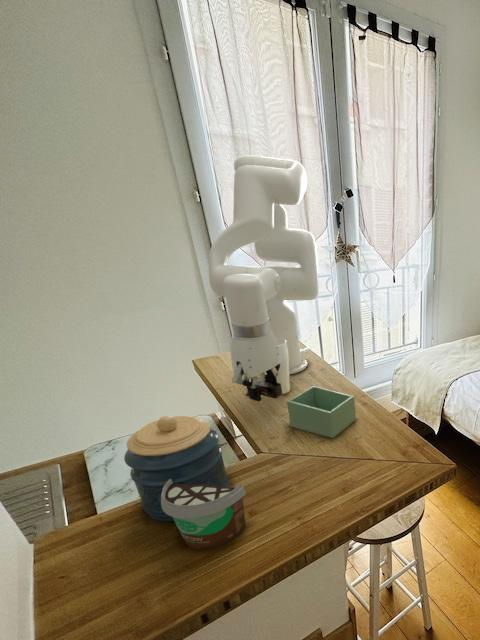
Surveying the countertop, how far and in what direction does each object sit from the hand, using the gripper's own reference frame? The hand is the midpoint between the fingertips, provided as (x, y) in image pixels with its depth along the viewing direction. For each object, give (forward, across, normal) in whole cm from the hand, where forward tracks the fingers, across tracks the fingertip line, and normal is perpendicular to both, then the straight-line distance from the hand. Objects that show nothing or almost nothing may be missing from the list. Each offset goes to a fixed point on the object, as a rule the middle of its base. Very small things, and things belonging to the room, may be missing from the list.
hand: (264, 393), depth 101 cm
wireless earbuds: (+1, 0, 0) cm, 1 cm away
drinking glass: (+5, -9, -4) cm, 11 cm away
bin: (+4, -1, +17) cm, 17 cm away
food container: (+3, +36, +23) cm, 43 cm away
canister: (+4, +30, +12) cm, 32 cm away
